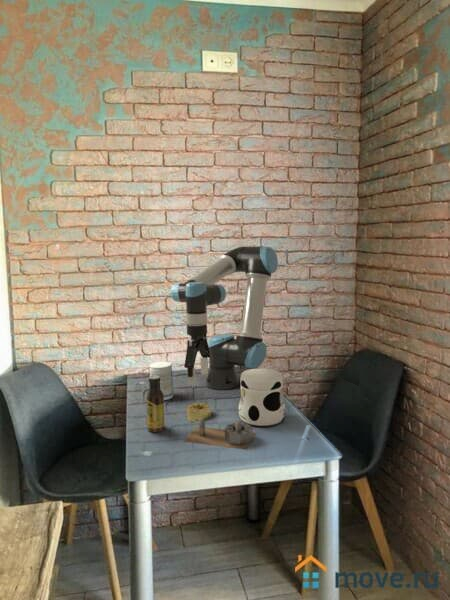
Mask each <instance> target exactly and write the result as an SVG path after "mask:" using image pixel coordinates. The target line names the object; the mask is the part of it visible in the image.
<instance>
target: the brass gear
mask: <svg viewBox="0 0 450 600" xmlns="http://www.w3.org/2000/svg"><path fill="white" fill-rule="evenodd" d="M211 407H212V406H210V405H209V404H208V403H203V402H196V403H191V404H189V405H188V406H187V407H186V410H185V411H186V419H187V420H188V421H189V422H190V423H191V422H193V423H194V422H195V421H199V418H201V417H203V418H205V420H206V419H209V417H210V416H211V415H212V408H211Z"/></svg>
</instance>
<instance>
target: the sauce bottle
mask: <svg viewBox="0 0 450 600" xmlns="http://www.w3.org/2000/svg"><path fill="white" fill-rule="evenodd" d="M148 382H149V383H148V384H149V386H148V387H149V388H148V392H147V396H146V401H145V402H146V422H147V424H146V426H147V430H148V431H149V432H151V433H158V432H159V433H160V432H162V431H163V430H165V425H166V424H165V400H164V395H163V392H162V391H161V389H160V376H158V375H153V376H150V375H149V377H148Z"/></svg>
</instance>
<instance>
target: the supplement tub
mask: <svg viewBox="0 0 450 600" xmlns="http://www.w3.org/2000/svg"><path fill="white" fill-rule="evenodd" d="M153 375H158V376H160V389H161V391H162V392H163V395H164V401H168V400H170V399H172V398H173V397H174V376H173V366H172V362H170V361H154V362H151V363H150V364H149V377H150V376H153Z"/></svg>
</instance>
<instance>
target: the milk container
mask: <svg viewBox="0 0 450 600" xmlns="http://www.w3.org/2000/svg"><path fill="white" fill-rule="evenodd" d="M239 384H240V399H239V403H238V415H239V418H240V420H241V422H242V423H246V424H248V425H250V426H251V427H258V428H266V427H267V428H268V427H273V426H276V425H279V424H280V423H282V421H283V420H284V419H285V417H286V416H285V415H286V404H285V401H284V400H285V399H284V394H283V393H284V378H283V373H282V372H281V371H279V370H277V369H272V368H265V367H264V368H262V367H261V368H259V367H258V368H249V369H246V370H244V371H243V372H241V374H240V379H239Z"/></svg>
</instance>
